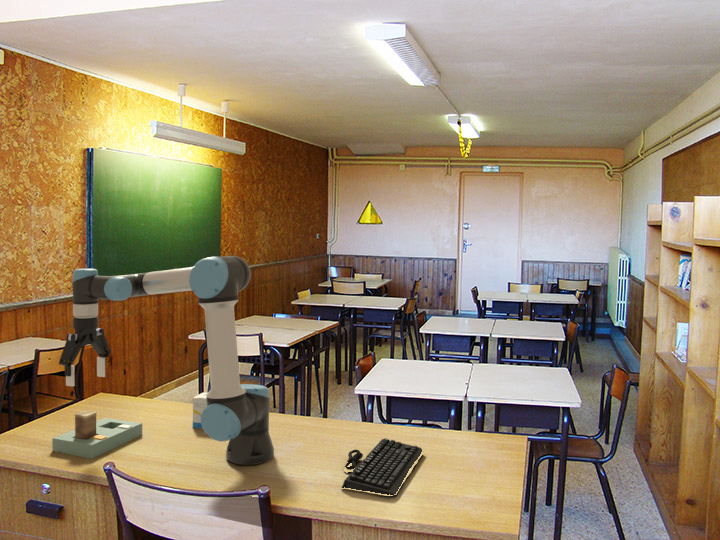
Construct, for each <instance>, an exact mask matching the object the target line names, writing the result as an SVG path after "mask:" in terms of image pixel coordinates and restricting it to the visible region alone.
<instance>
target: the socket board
mask: <svg viewBox="0 0 720 540" xmlns="http://www.w3.org/2000/svg"><path fill="white" fill-rule="evenodd" d="M142 435H143V423H142V422H136V421H130V420H122V419H117V418H110V417H103V418H101V419H97V420H96V436H93V437H92V438H90V439H87V440H84V439H78V438H75V429H73V430H70V431H68V432H64V433H62V434H60V435H57V436H55V437H53V438H52V437H51V441H52V442H51V447H52V449H51V450H52V452H53V451H55V452H54V453H59V452H62V453H61V454H64V453H66V454H65V455H69V454H71V455H70V456H75V455H76V456H75V457H80V456H81V458H86V459H91V460H93V459H95V458H96V457H99V456H102V455H103V454H105V453H107V452H110V451H111V450H113V449H116V448H117V447H120V446H122V445H123V444H126V443H128V442H131V441H132V440H134V439H136V438H139V437H141V436H142Z"/></svg>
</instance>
